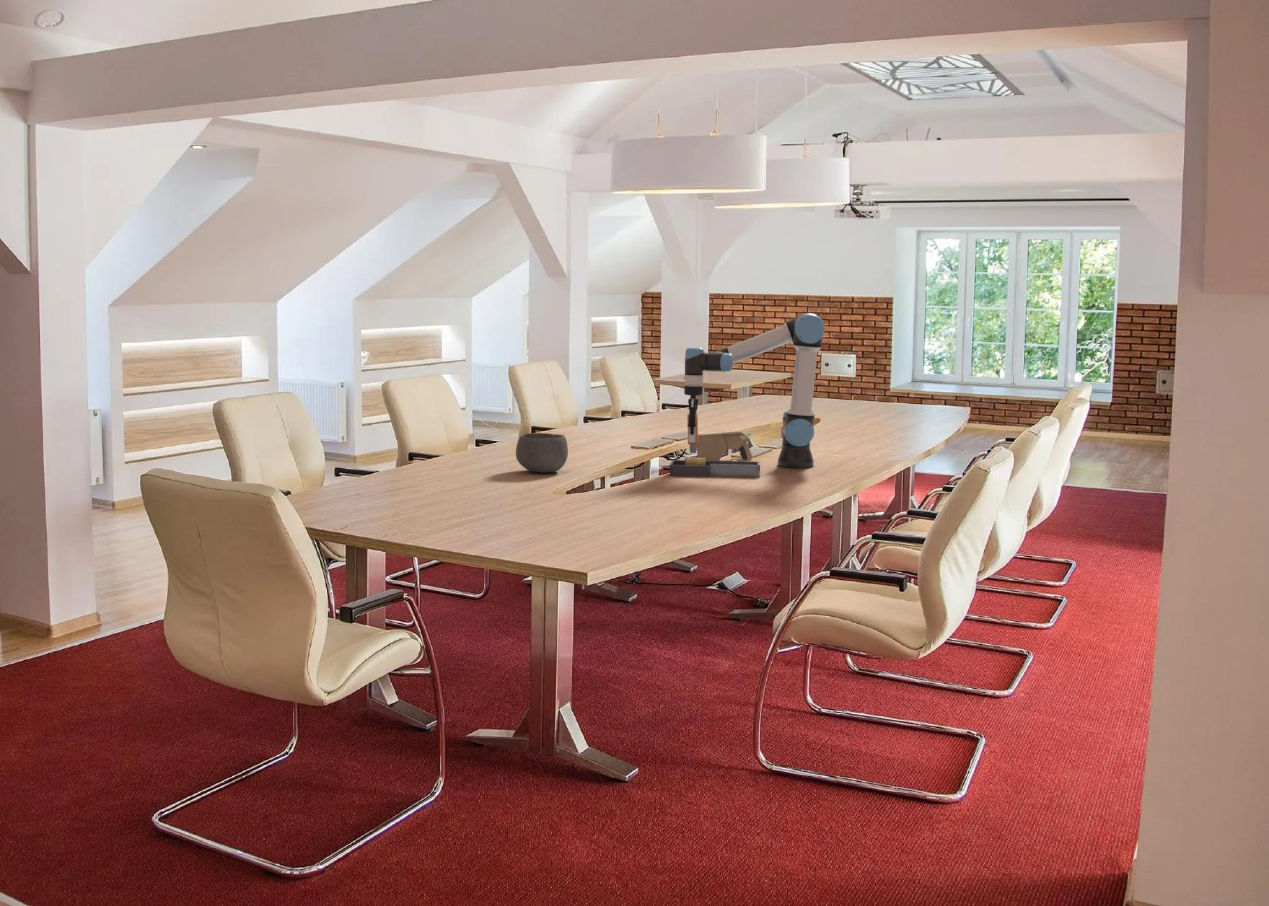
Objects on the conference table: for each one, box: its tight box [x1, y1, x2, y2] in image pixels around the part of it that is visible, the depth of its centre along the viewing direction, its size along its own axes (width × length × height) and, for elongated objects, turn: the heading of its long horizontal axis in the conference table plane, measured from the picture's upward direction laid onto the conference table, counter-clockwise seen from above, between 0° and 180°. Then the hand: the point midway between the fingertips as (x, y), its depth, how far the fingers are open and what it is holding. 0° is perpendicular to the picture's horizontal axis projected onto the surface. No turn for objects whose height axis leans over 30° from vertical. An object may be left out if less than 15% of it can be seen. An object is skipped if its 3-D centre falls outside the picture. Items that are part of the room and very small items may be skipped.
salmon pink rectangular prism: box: [686, 413, 699, 454], centre depth 504 cm, size 4×7×16 cm, turn 174°
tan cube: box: [695, 457, 706, 466], centre depth 493 cm, size 4×4×4 cm
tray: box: [669, 459, 711, 478], centre depth 494 cm, size 16×14×4 cm
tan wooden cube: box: [684, 456, 697, 466], centre depth 494 cm, size 4×4×4 cm
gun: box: [696, 430, 753, 461], centre depth 515 cm, size 24×3×15 cm, turn 84°
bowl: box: [515, 432, 569, 474], centre depth 494 cm, size 21×21×15 cm
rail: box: [710, 460, 761, 478], centre depth 492 cm, size 20×10×5 cm, turn 84°
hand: (692, 441), depth 505 cm, fingers closed on salmon pink rectangular prism, 4 cm apart
